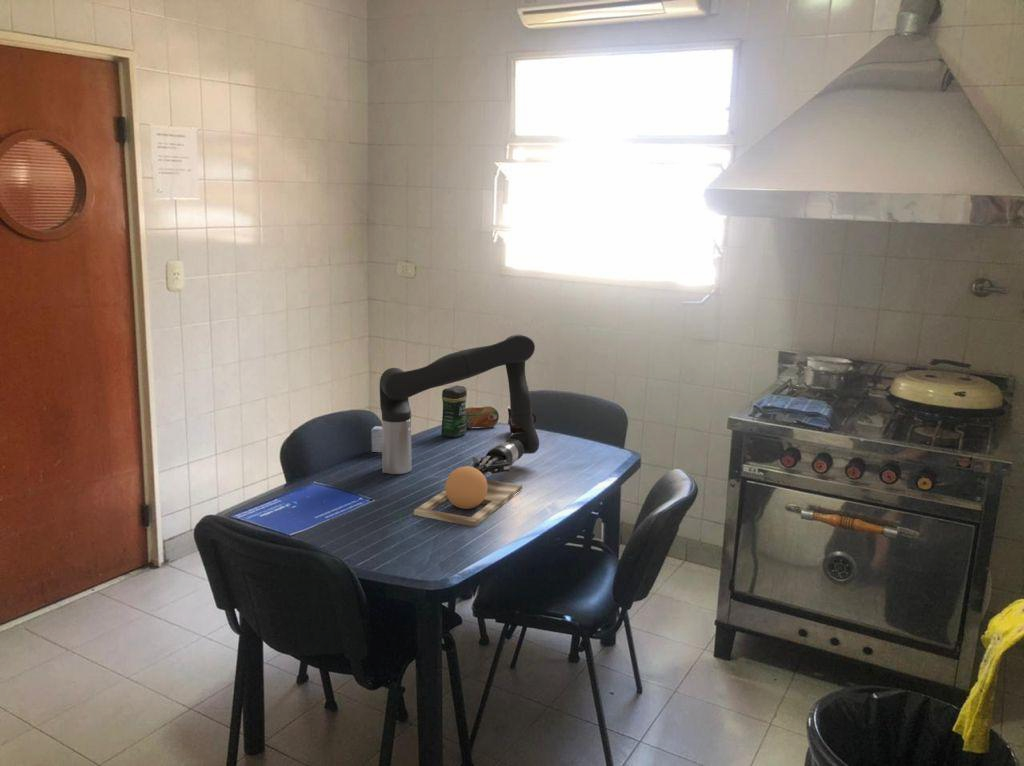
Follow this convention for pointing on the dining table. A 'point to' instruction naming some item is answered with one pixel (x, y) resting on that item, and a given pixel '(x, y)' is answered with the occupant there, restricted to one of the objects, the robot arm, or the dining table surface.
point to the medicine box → (377, 439)
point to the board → (493, 499)
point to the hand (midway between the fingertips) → (477, 472)
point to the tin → (481, 416)
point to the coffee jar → (454, 411)
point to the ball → (466, 487)
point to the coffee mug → (513, 427)
